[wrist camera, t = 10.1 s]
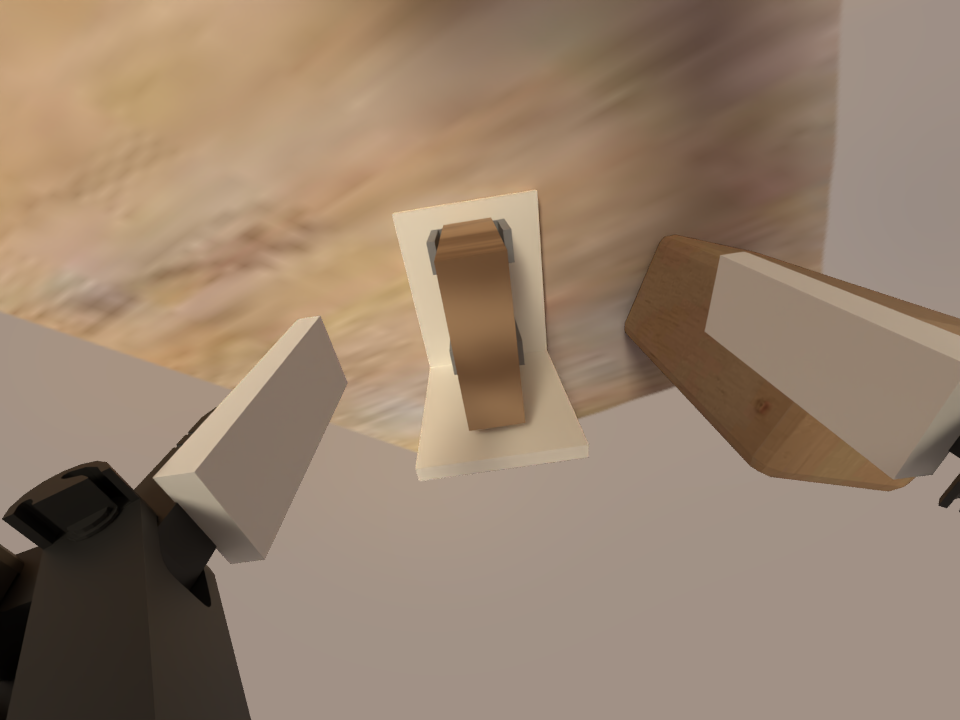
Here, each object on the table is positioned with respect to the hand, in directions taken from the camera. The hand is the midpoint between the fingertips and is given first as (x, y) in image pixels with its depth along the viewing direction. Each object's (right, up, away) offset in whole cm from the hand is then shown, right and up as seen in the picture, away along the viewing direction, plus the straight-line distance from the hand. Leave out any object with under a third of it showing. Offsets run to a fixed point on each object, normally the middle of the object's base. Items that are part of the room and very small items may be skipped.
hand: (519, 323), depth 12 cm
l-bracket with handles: (-2, +6, +22) cm, 23 cm away
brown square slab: (-2, +5, +21) cm, 21 cm away
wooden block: (+19, +5, +23) cm, 30 cm away
